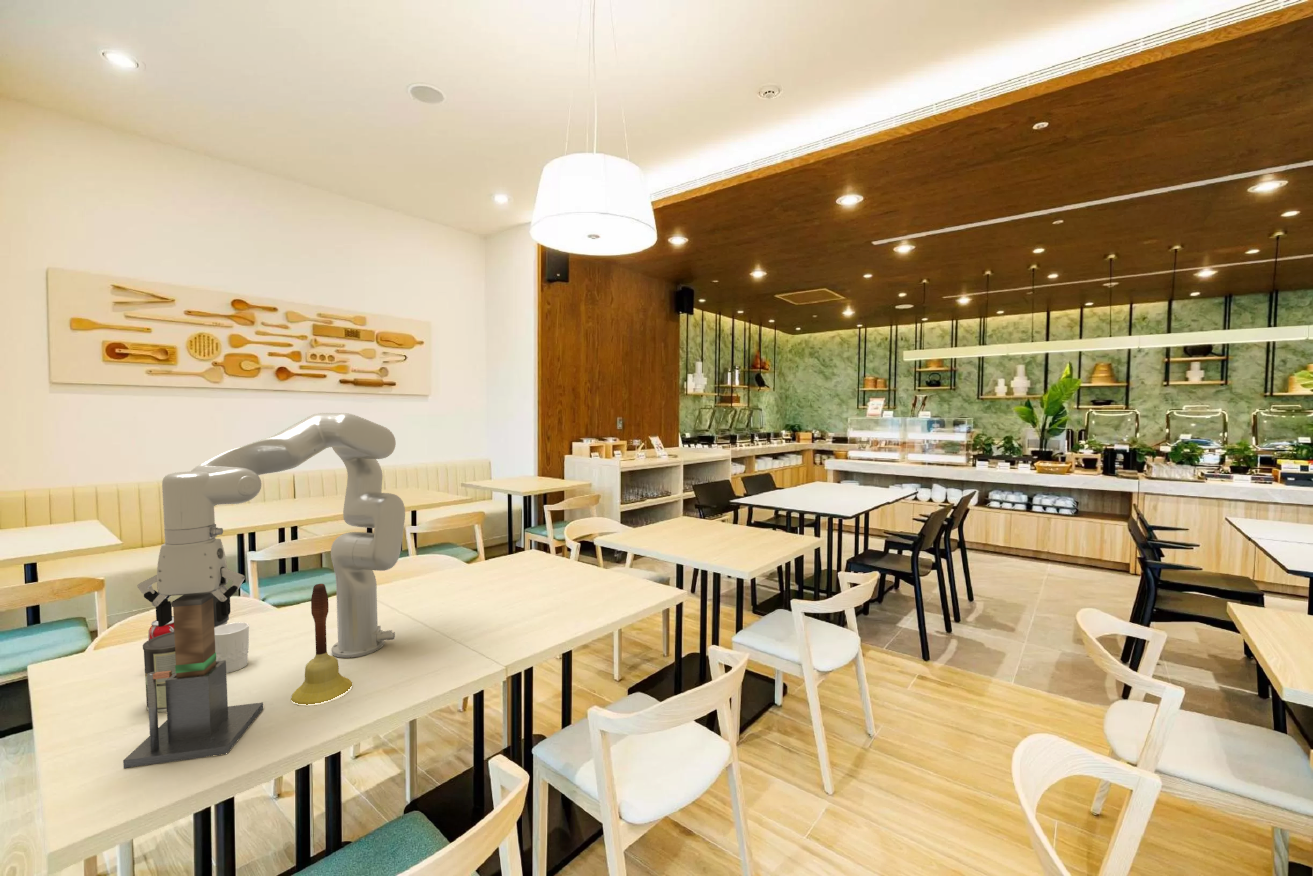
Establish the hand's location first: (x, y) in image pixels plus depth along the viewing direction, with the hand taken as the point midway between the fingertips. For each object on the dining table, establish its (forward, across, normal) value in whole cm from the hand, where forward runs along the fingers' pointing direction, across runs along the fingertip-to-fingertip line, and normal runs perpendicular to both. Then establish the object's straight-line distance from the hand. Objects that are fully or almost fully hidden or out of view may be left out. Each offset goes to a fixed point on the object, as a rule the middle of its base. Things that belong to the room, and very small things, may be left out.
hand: (194, 621), depth 108 cm
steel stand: (+23, 0, 0) cm, 23 cm away
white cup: (+23, +8, -32) cm, 40 cm away
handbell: (+23, -18, -13) cm, 32 cm away
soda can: (+23, +23, -36) cm, 49 cm away
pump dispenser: (+23, +24, -56) cm, 65 cm away
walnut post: (+14, 0, 0) cm, 14 cm away
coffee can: (+23, +12, -17) cm, 31 cm away
